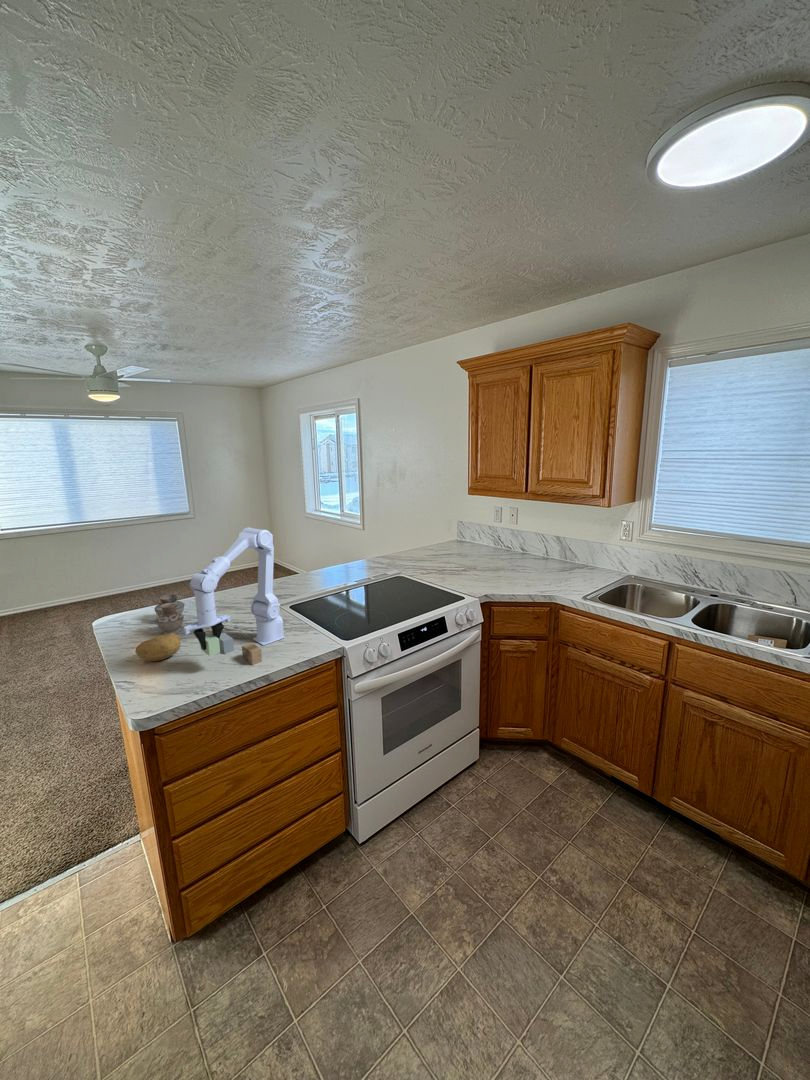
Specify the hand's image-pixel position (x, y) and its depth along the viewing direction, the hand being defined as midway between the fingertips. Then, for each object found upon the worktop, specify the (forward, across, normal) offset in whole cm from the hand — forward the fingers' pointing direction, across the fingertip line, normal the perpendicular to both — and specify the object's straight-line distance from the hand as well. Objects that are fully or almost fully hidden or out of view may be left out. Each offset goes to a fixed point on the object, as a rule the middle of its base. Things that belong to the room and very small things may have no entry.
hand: (210, 646), depth 146 cm
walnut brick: (+8, -12, +5) cm, 15 cm away
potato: (+8, +10, -19) cm, 23 cm away
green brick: (+2, 0, 0) cm, 2 cm away
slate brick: (+8, -9, -10) cm, 15 cm away
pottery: (+8, -3, -46) cm, 47 cm away
